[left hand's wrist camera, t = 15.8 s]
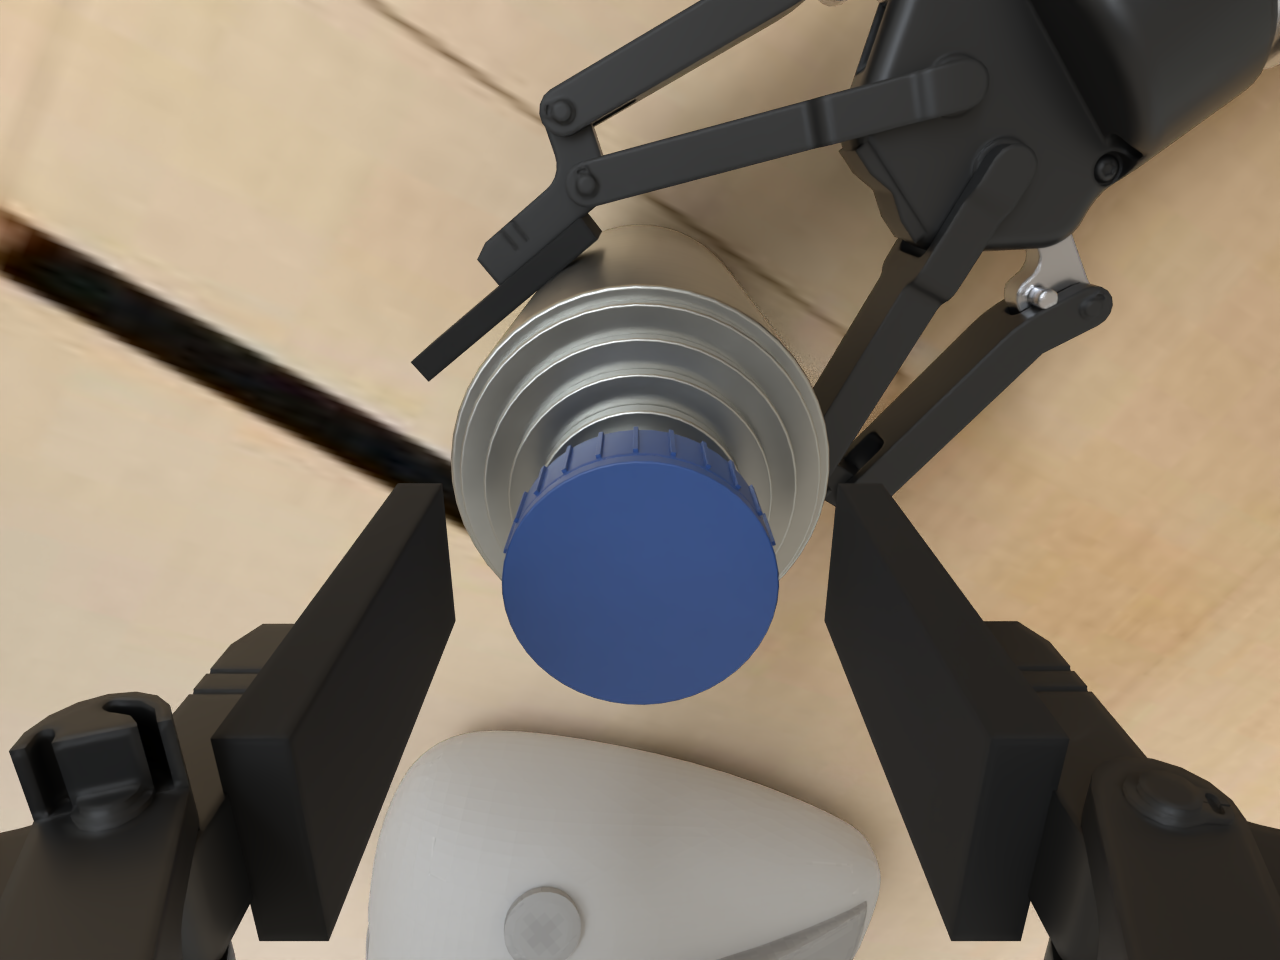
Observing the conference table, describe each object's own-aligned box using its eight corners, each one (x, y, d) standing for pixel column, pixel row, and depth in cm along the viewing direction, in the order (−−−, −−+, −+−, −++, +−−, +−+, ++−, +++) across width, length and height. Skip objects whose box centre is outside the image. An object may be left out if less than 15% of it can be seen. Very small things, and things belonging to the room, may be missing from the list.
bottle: (541, 439, 33) (425, 777, 15) (525, 227, 30) (354, 337, 12) (744, 433, 33) (869, 767, 15) (748, 220, 30) (911, 321, 12)
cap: (804, 601, 15) (821, 650, 14) (581, 686, 16) (575, 742, 14) (708, 382, 13) (717, 411, 12) (467, 488, 14) (446, 526, 13)
